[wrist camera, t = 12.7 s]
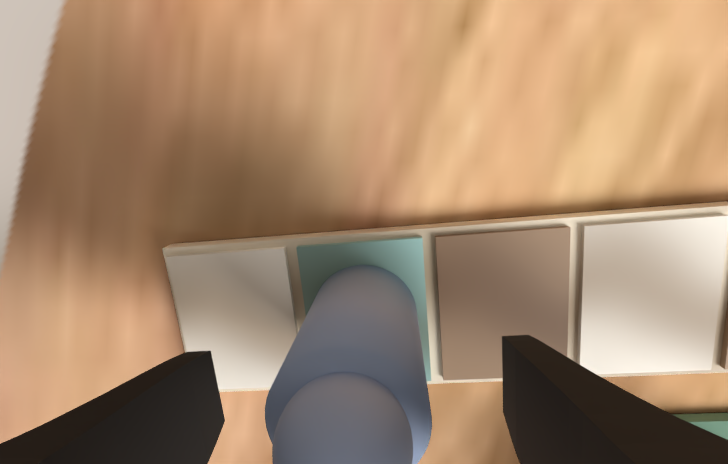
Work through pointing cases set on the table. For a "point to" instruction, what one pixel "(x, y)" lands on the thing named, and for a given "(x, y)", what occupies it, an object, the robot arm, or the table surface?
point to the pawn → (353, 377)
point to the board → (479, 291)
